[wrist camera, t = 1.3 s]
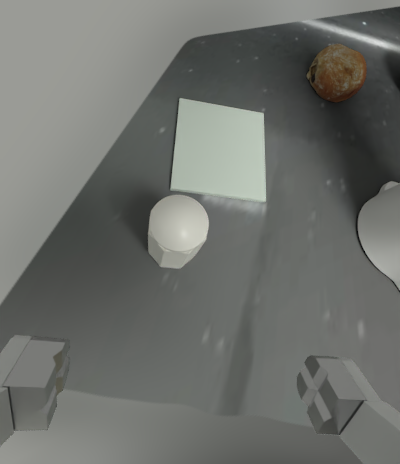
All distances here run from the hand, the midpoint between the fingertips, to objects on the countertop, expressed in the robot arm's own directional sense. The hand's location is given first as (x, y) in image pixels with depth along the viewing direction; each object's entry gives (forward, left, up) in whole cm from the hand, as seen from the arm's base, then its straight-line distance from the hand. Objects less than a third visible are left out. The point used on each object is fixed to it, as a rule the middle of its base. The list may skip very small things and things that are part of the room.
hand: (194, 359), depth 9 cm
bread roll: (-27, -46, -25) cm, 59 cm away
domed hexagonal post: (0, -11, -25) cm, 27 cm away
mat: (-6, -27, -25) cm, 37 cm away
